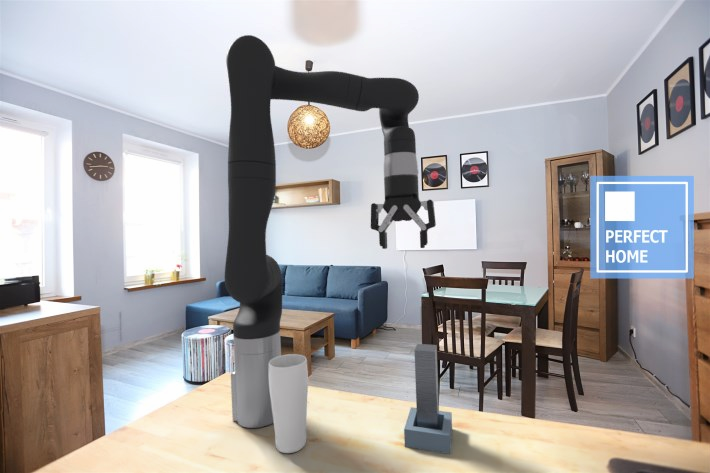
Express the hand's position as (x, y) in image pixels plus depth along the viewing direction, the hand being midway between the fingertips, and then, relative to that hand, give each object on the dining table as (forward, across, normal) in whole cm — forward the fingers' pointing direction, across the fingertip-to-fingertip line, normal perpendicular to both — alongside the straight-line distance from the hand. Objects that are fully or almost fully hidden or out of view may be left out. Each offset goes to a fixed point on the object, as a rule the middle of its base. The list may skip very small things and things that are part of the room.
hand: (403, 248), depth 76 cm
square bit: (+33, +6, -14) cm, 37 cm away
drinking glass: (+33, -17, -23) cm, 44 cm away
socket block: (+33, +6, -14) cm, 37 cm away
